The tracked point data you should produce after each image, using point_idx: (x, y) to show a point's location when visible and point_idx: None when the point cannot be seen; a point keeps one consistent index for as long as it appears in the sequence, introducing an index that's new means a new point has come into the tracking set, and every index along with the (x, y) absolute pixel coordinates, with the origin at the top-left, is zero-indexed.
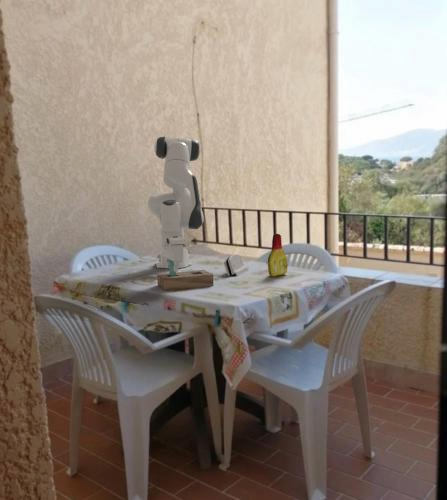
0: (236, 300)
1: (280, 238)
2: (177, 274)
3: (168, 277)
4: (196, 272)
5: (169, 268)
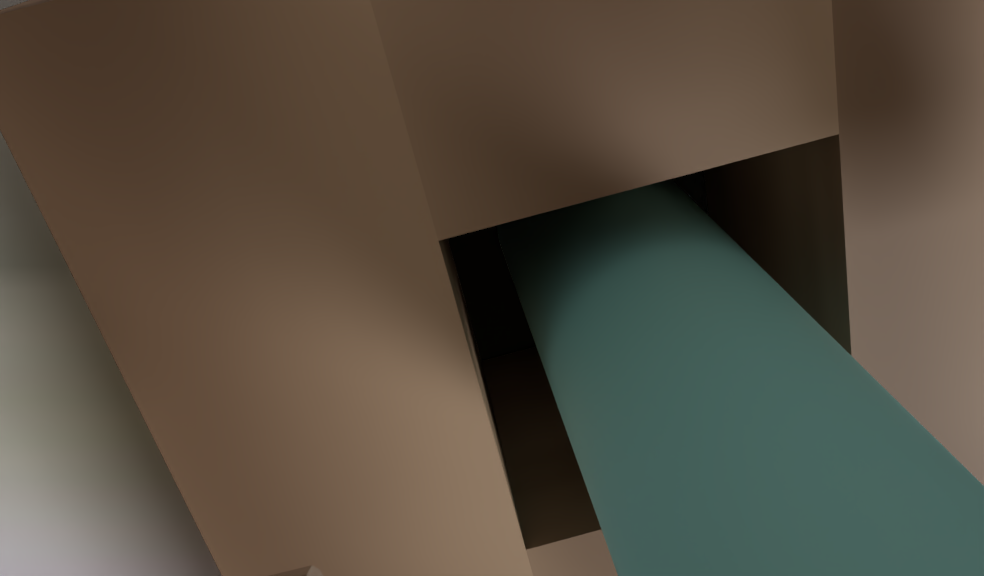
0: None
1: None
2: None
3: (309, 206)
4: None
5: (774, 407)
